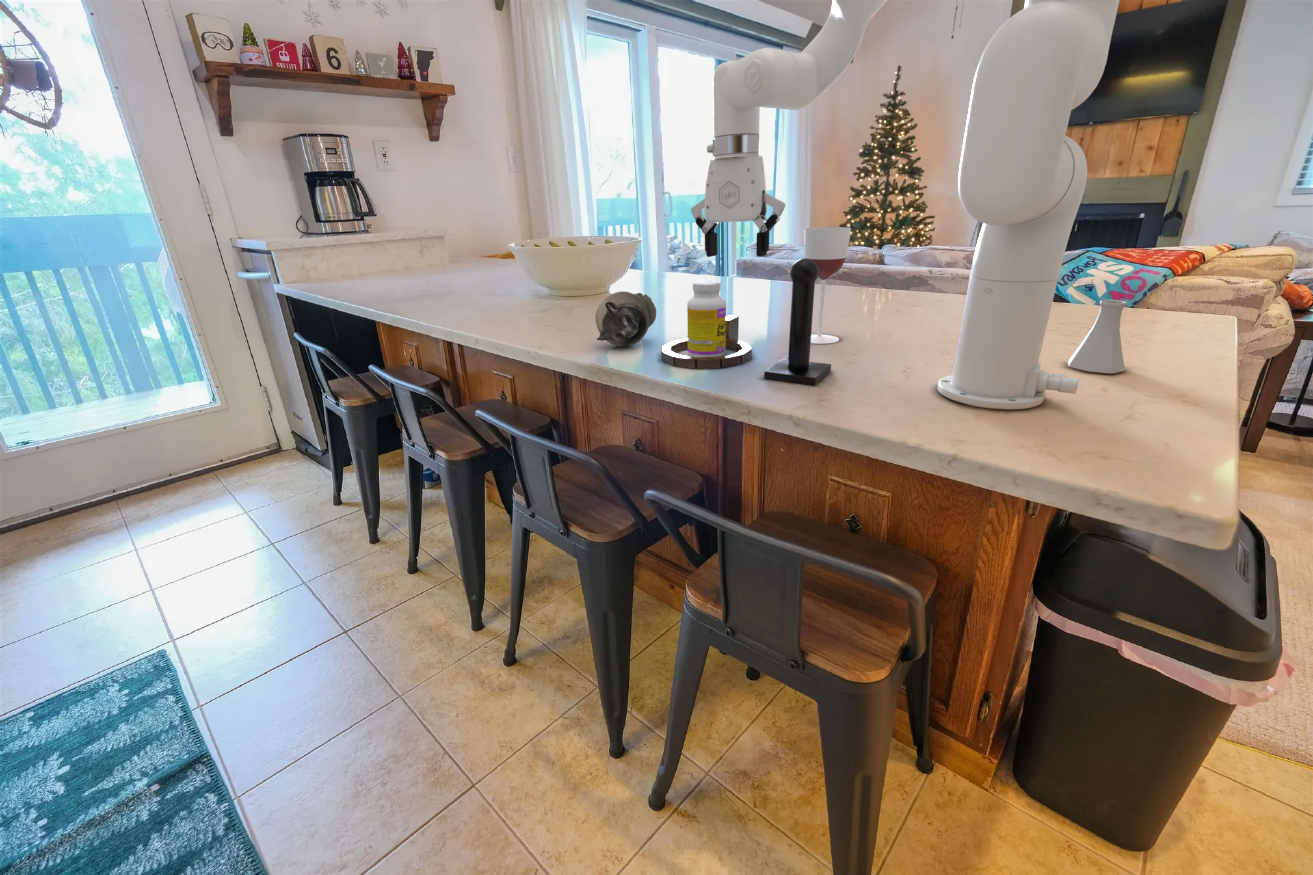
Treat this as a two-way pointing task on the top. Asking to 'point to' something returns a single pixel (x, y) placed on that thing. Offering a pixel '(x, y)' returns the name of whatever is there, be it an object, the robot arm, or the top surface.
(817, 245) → the wineglass
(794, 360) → the towel holder
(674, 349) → the walnut ring
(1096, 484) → the top surface
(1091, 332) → the flask
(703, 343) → the supplement bottle
